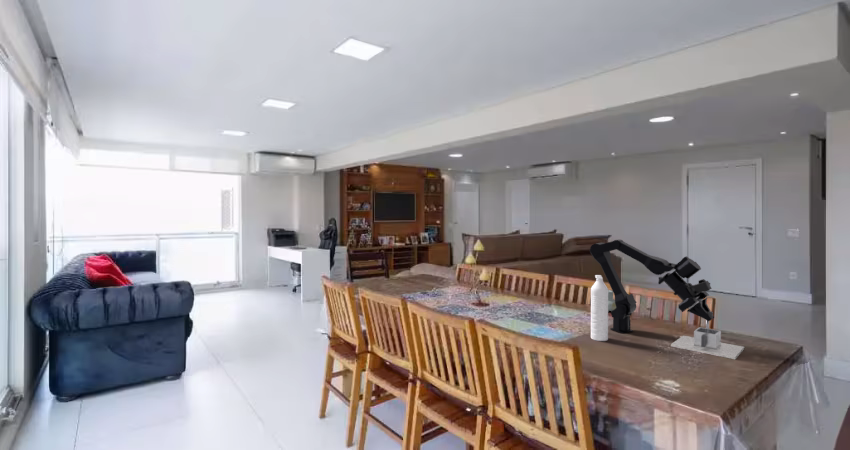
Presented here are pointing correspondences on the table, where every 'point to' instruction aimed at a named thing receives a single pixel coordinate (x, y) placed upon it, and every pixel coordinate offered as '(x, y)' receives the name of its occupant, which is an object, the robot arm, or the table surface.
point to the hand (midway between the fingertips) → (711, 319)
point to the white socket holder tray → (708, 344)
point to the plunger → (708, 321)
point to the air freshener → (611, 301)
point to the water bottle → (599, 310)
